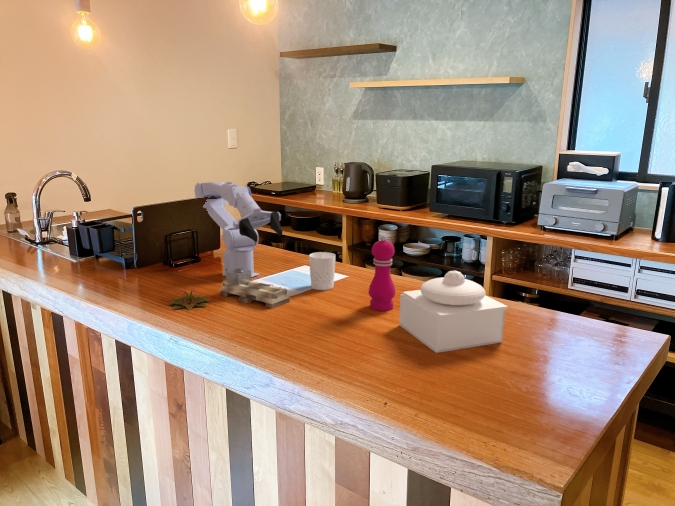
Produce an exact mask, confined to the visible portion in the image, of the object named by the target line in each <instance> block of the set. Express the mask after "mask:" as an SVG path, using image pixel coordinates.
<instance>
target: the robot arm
mask: <svg viewBox="0 0 675 506" xmlns="http://www.w3.org/2000/svg"><path fill="white" fill-rule="evenodd" d="M194 195H195V196H194V197H195V199H196V198H201V197H208V198H210V197H209V196H214V197H216V198H217V199H207V200H206V201H207V202H205V204H204V205H203V207H202V208H203V209H205V208H206V209H207V210H206V209H205V210H206V211H208V212H207V213H208V215H209V216H210V218H211V219H212V220H213V221H214V222H215V223H216V224H217V225H218V227H220V229H221V230H222V237H221V238H222V241H223V243H224V245H225V247H226V248H227V249H225V250H224V253H223V257H222V258H223V259H222V260H223V273H222V274H221V275H222V276H223V277H226V272H227V271H230V270H234V269H237V268H241V269H246V270H250V271H251V278H254V277H257V276H259V275H260V273H259V272H254V271H255V270H254V250H255V249H256V247H257V245H258V243H259V233H258V231H257V229H259V228H262V227H263V226H266V225H267V224H270V229H271V230H273V231H274V232H275V233H276V235H277V236H278V237H282V236H283V229H282V226H281V223H280V221H281V219H282V214H281V213H280V212H279V211H267V210H262V209H261V207H260V206H259V205H258V204H257V202H256V201H255V200H254V198H253V197H252V196H253V195H252V191H251V188H250V187H249V186H248V185H243V186H242V185H241V186H239V184H238V183H233V181H226V182H224V181H211V182H210V181H209V182H197V183H196V184H195V185H194ZM216 195H217V196H216ZM227 202H228V204H227ZM227 205H229V206H230V207H233V208H235V209H237V211H238V212H239V214H240V215H241V216H242V217H241V218H238V219H236V218H235V217H233V216H232V214H230V212H229V211H228V210H227V209H226V208H225V207H226V206H227Z"/></svg>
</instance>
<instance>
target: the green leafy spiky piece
mask: <svg viewBox="0 0 675 506" xmlns="http://www.w3.org/2000/svg"><path fill="white" fill-rule="evenodd" d="M180 292H183V294H181V296H182V298H181V297H179V298H172V300H173V301H171V302H170V303H169V304H167V305H168V306H170V305H174V306H173V307H172V310H177V309H181V308H182V309H183V308H187V310H189V311H191V310H192V309H193V307H207V304H206V303H205V302H211V300H210V299H208V298H205V297H206V295H205V296H204V295H203V296H202V295H201V296H196V295H197V294H198V292H196V291H195V288H193V287H192V288H191V290H190V293H189V294H188V292H187V291H186V290H185V288H182V290H181V289H180Z"/></svg>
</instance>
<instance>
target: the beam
mask: <svg viewBox="0 0 675 506" xmlns="http://www.w3.org/2000/svg"><path fill="white" fill-rule="evenodd" d="M220 295H221V296H225V297H227V296H228V297H229V296H231V295H235V296H236V295H237V296H238V301H239V302H241V303H244V304H248V303H251V302H254V301H258V302H263V303H265V307H266V308H270V309H275V308H276V307H279V306H281V305H285V304H287V303H290V293H289V292H288V289H286V288H282V287H278V286H274V285H271V284H267V283H263V282H257V281H254V280H251V281H249V282H246V285H243V284H240V285H238V284H234V283H230V282H227V280H226V279H225V280H223V281H222V285H220Z"/></svg>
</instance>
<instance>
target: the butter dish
mask: <svg viewBox="0 0 675 506" xmlns="http://www.w3.org/2000/svg"><path fill="white" fill-rule="evenodd" d="M486 294H487V293H486V290H485V289H484V287H483V286H482V285H481V284H479V283H477V282H475V281H473V280H470V279H467V278H465V276H464V275H463V274H462V272H461V271H457V270H450V271H447V272H446V273H445V275H444V277H435V278H432V279H428V280H426V281H425V282H423V283H422V284H421V285H420V289H415V290H407V291H402V293H401V294H400V297H399V321H398V322H399V327H401V328H403V329H404V330H405V331H406V332H408V333H409V334H410V335H412V336H413V337H414V338H416V340H418V341H420V343H422V344H423V345H425V346H427V348H429V349H430V350H432V351H433V352H435V353H443V352H449V351H450V352H451V351H457V350H461V349H467V348H468V349H469V348H475V347H480V346H486V345H488V346H489V345H492V344H493V345H494V344H499V343H503V339H504V329H505V327H504V325H505V316H506V310H508V307H509V306H508V305H505V304H504V303H502V302H500V301H498V300H496V299H494V298H492V297H489V296H487V295H486Z"/></svg>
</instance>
